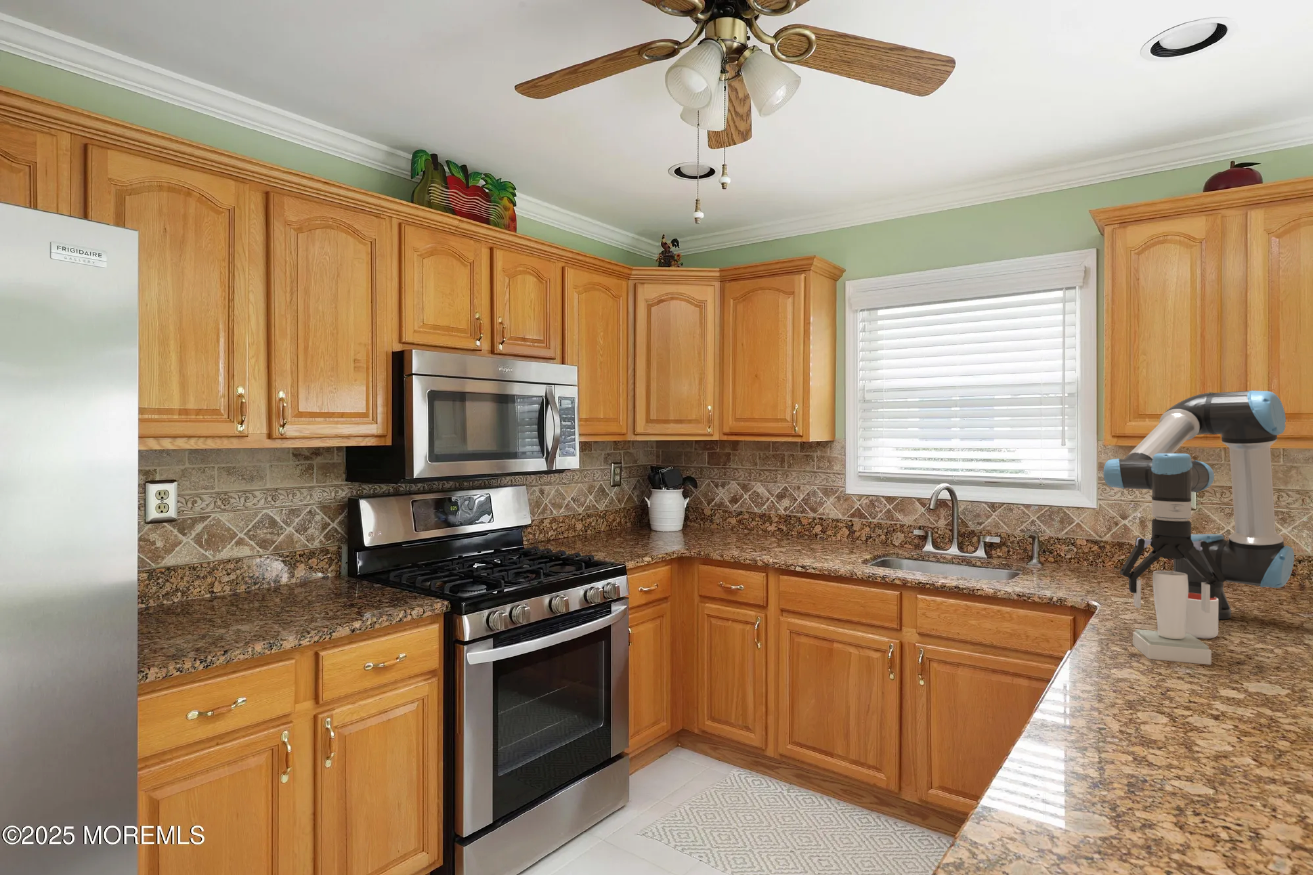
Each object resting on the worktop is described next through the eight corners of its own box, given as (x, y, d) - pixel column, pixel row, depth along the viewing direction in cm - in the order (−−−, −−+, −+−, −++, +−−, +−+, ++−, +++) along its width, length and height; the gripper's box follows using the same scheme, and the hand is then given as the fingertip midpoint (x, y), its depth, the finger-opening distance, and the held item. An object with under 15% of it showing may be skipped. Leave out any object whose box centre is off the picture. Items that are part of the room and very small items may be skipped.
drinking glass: (1180, 642, 163) (1178, 576, 163) (1148, 635, 169) (1146, 572, 169) (1195, 638, 166) (1193, 573, 166) (1163, 632, 172) (1161, 569, 172)
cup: (1226, 641, 179) (1227, 601, 179) (1181, 638, 181) (1182, 599, 181) (1204, 630, 189) (1205, 593, 189) (1162, 628, 191) (1162, 591, 191)
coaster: (1190, 650, 171) (1191, 633, 171) (1211, 664, 160) (1211, 646, 160) (1132, 644, 175) (1132, 628, 175) (1148, 658, 164) (1148, 641, 164)
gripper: (1114, 518, 168) (1114, 608, 168) (1242, 522, 160) (1242, 617, 160) (1105, 515, 175) (1105, 601, 175) (1228, 519, 167) (1228, 609, 167)
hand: (1170, 609), depth 168 cm, fingers open, 13 cm apart
